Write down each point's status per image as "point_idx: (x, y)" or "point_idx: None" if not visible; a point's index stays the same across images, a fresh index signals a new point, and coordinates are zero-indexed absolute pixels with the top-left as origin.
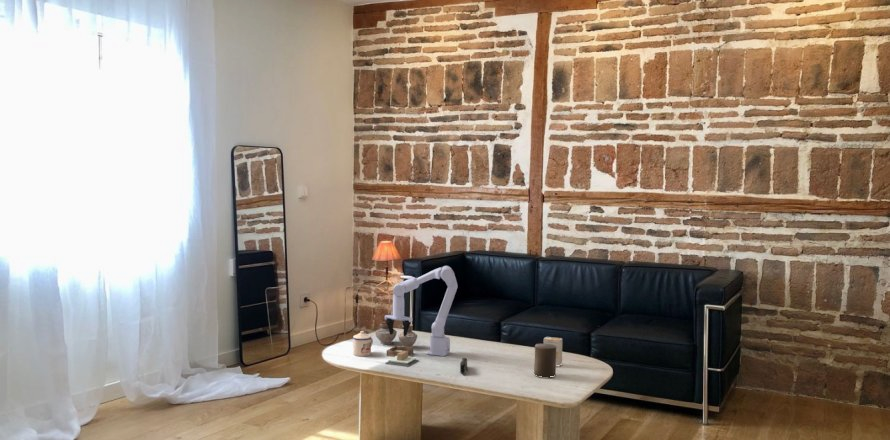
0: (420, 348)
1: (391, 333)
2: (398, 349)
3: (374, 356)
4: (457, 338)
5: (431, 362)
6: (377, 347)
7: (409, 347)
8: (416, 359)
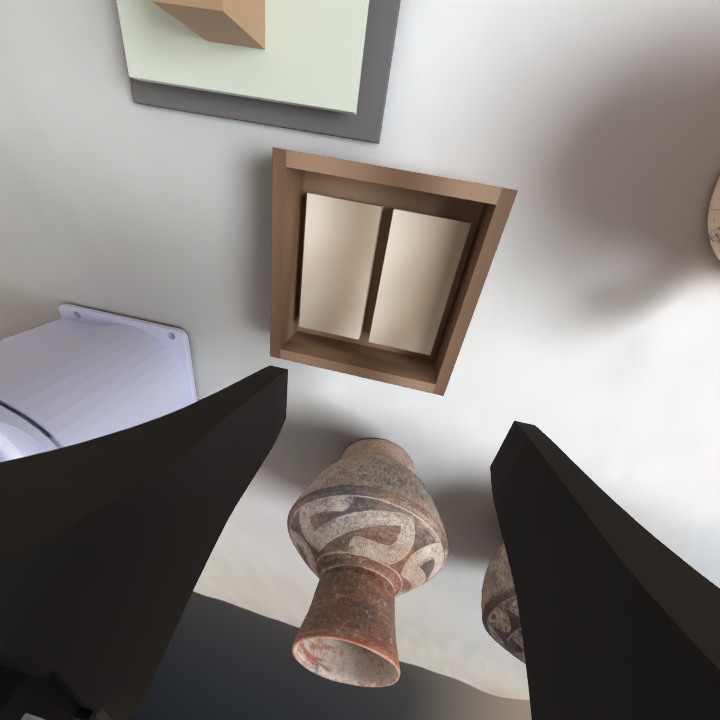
0: (294, 454)
1: (513, 438)
2: (411, 365)
3: (657, 115)
4: (215, 590)
5: (14, 74)
6: (609, 446)
7: (355, 448)
8: (157, 104)
